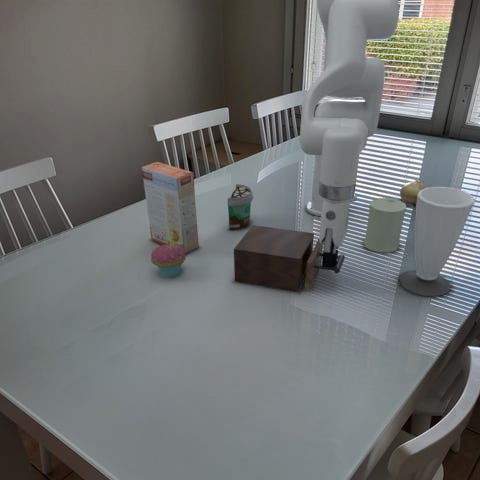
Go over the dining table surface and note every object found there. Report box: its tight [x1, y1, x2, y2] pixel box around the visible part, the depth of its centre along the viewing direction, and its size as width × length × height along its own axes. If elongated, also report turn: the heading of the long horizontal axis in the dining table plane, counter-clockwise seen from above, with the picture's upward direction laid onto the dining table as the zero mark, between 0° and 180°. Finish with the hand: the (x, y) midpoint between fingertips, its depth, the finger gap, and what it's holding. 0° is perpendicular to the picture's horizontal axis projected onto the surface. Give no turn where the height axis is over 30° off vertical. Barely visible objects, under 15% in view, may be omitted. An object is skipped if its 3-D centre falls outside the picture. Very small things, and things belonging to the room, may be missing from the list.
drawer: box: [300, 238, 346, 290], centre depth 114 cm, size 20×13×7 cm, turn 70°
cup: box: [399, 186, 476, 298], centre depth 107 cm, size 12×12×22 cm
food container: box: [227, 183, 254, 231], centre depth 139 cm, size 12×6×10 cm, turn 168°
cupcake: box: [150, 229, 187, 278], centre depth 116 cm, size 9×8×12 cm
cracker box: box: [141, 161, 200, 254], centre depth 126 cm, size 14×6×21 cm, turn 47°
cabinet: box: [233, 224, 315, 293], centre depth 116 cm, size 16×14×9 cm
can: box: [363, 197, 407, 253], centre depth 126 cm, size 9×9×12 cm
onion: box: [399, 178, 426, 205], centre depth 151 cm, size 8×8×7 cm
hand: (329, 265), depth 112 cm, fingers closed
